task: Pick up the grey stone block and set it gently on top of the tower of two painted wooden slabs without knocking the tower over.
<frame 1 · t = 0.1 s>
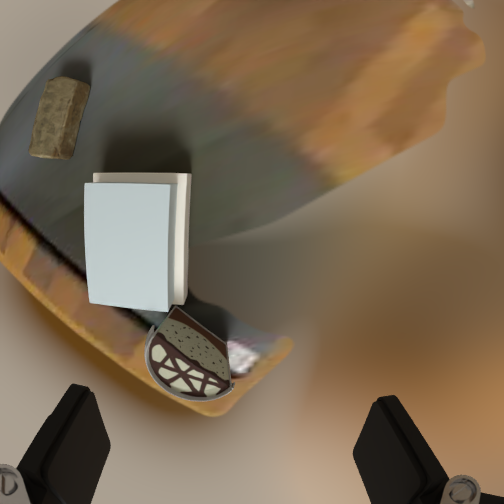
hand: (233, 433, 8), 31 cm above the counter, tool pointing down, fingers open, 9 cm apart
tower top slab: (135, 240, 35), point 3 cm above the counter, touching tower base slab
food container: (188, 338, 42), on the counter
stone block: (68, 120, 34), on the counter
tower base slab: (145, 233, 38), on the counter, touching tower top slab
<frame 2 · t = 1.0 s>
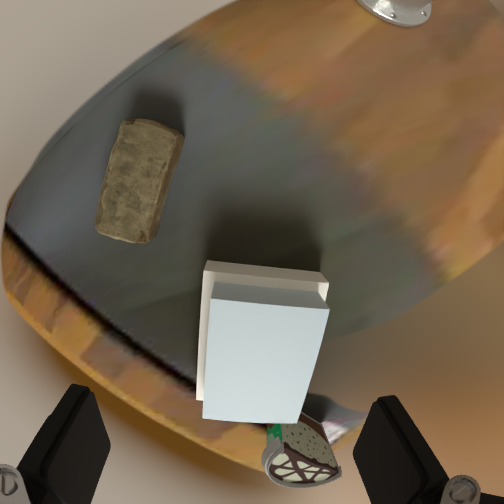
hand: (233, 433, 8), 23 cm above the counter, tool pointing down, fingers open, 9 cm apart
tower top slab: (257, 349, 30), point 3 cm above the counter
food container: (285, 422, 38), on the counter
stone block: (147, 179, 29), on the counter
tower base slab: (254, 331, 34), on the counter
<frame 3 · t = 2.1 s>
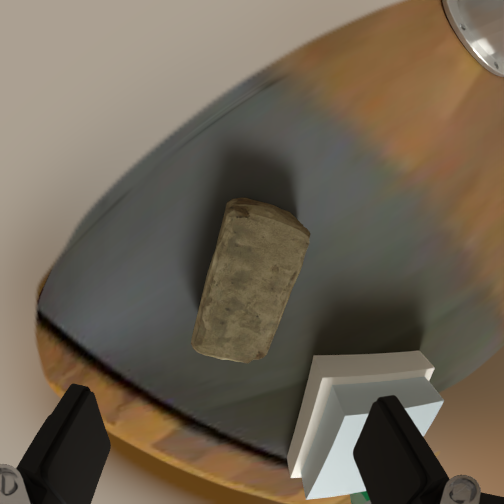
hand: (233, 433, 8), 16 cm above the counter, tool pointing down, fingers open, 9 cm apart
tower top slab: (360, 432, 25), point 3 cm above the counter, touching tower base slab
food container: (360, 472, 33), on the counter
stone block: (245, 270, 24), on the counter
tower base slab: (349, 408, 29), on the counter, touching tower top slab
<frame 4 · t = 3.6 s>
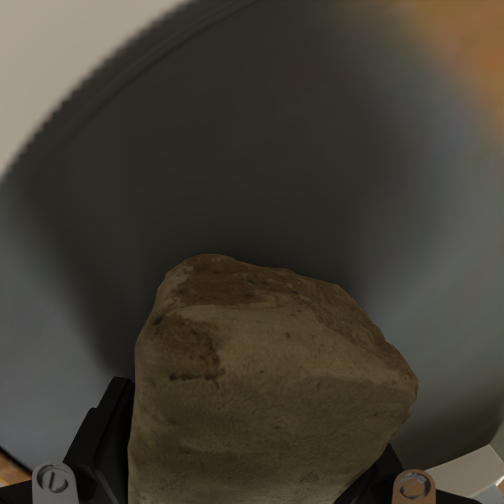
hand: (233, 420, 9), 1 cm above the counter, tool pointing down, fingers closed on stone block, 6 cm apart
stone block: (232, 401, 10), on the counter, touching gripper
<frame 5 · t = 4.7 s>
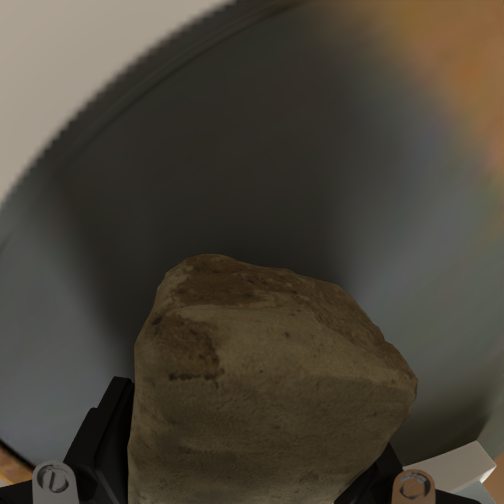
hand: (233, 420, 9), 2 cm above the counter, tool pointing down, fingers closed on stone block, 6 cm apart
stone block: (232, 401, 10), point 1 cm above the counter, touching gripper
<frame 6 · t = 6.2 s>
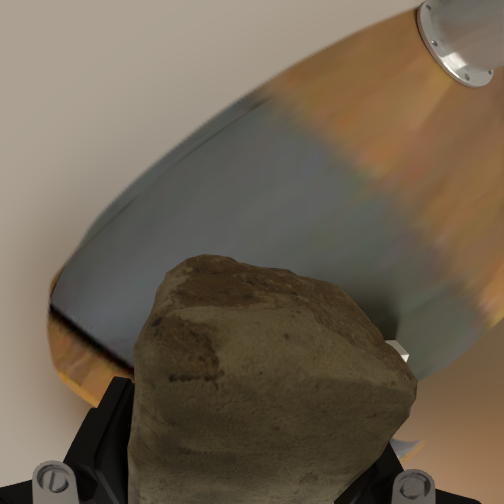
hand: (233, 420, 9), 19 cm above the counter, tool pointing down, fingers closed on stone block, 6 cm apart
stone block: (232, 401, 10), point 18 cm above the counter, touching gripper
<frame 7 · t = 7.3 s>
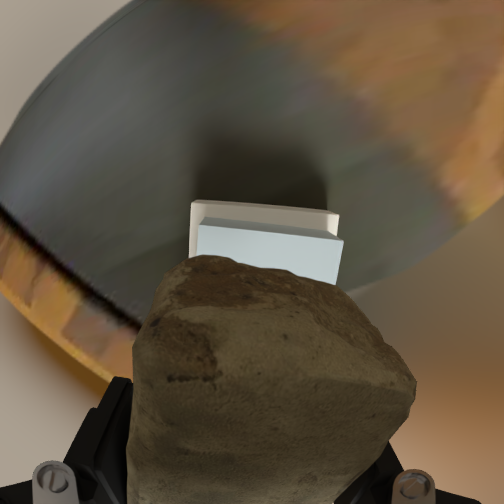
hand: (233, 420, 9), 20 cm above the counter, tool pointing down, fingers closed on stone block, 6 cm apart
tower top slab: (256, 304, 26), point 3 cm above the counter, touching tower base slab
stone block: (231, 401, 10), point 19 cm above the counter, touching gripper
tower base slab: (255, 285, 30), on the counter, touching tower top slab
when the fingers open (10 cm above the counter, at t = 10.3 s): stone block drops 2 cm, resting on tower top slab.
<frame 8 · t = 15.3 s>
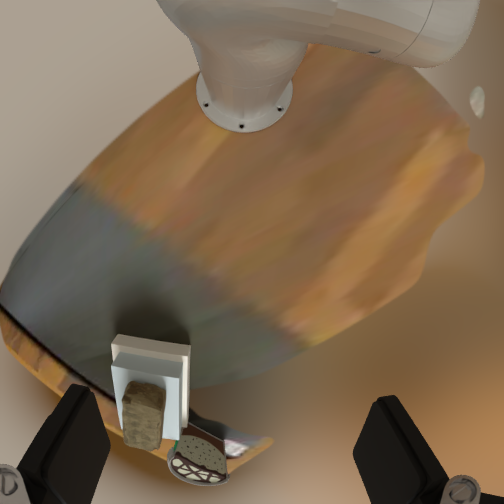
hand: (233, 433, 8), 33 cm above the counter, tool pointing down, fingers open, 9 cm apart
tower top slab: (152, 391, 43), point 3 cm above the counter, touching stone block, tower base slab
food container: (195, 437, 50), on the counter
stone block: (148, 406, 39), point 7 cm above the counter, touching tower top slab
tower base slab: (155, 376, 47), on the counter, touching tower top slab
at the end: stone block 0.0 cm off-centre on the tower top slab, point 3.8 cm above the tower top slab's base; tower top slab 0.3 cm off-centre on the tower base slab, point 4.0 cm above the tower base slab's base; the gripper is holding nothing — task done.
